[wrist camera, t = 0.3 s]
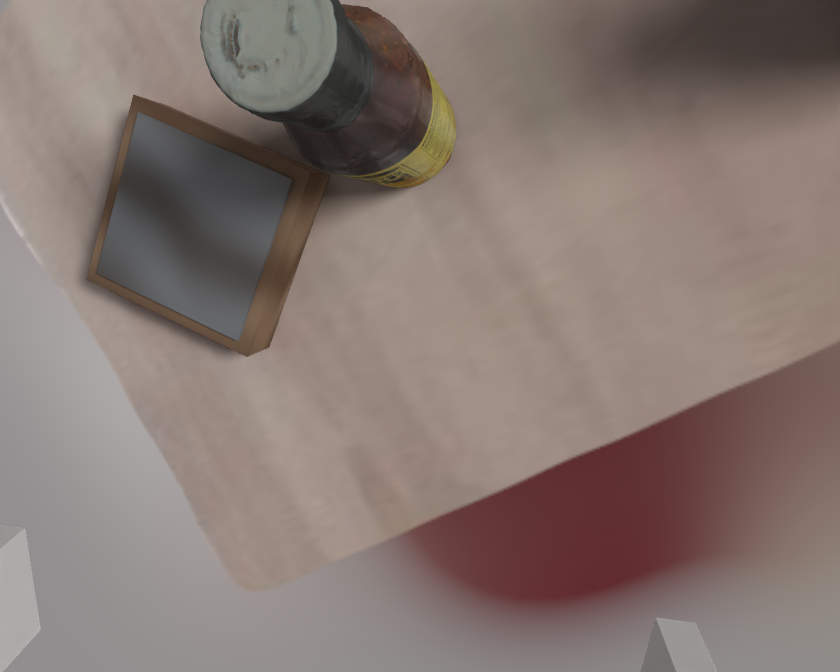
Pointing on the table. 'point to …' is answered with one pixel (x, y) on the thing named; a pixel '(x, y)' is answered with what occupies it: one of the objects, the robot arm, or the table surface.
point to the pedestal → (204, 226)
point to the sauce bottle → (333, 85)
